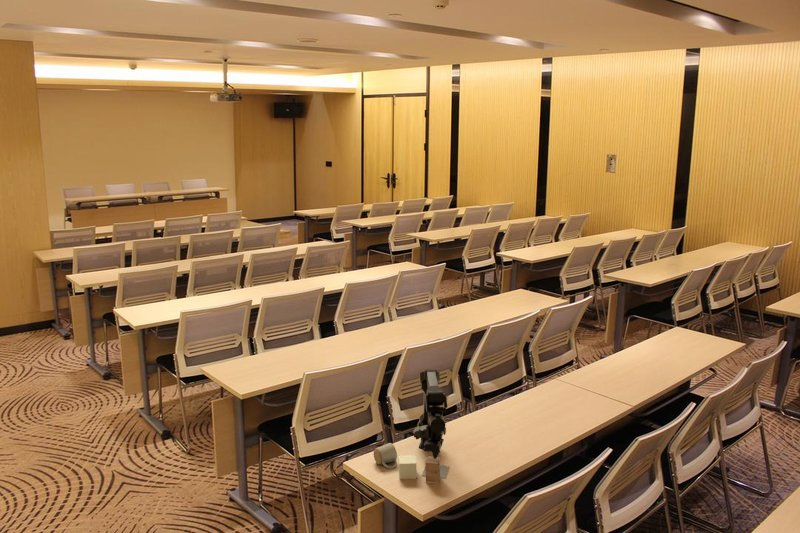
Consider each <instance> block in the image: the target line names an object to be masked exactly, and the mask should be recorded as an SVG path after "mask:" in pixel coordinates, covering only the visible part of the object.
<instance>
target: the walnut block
mask: <svg viewBox="0 0 800 533" xmlns="http://www.w3.org/2000/svg"><path fill="white" fill-rule="evenodd" d="M440 461H441V458H440V457H438V456H437V458H436V459H434V458H433V456H432V455H431V456H430V455H429V456H427V457H426V460H425V462H424V469H425V473H426V476H425V483H430V484H431V483H432V484H438V483H439V482H440V481H439V480H440V479H441V478H440V466H441V465H440V464H441V462H440Z"/></svg>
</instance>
